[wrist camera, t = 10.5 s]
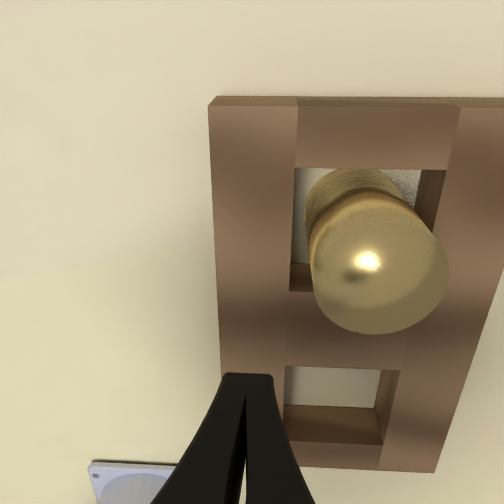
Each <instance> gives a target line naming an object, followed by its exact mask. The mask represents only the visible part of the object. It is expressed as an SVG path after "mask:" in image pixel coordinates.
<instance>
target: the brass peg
mask: <svg viewBox="0 0 504 504" xmlns="http://www.w3.org/2000/svg"><path fill="white" fill-rule="evenodd" d="M304 223H305V230H306V237H307V245H308V252H309V259H310V266H311V274H312V281H313V288H314V294H315V298H316V301H317V303H318V305H319V307H320V309H321V310H322V312H323V313H324V314H325V315H326V316H327V317H328V318H329V319H330V320H331V321H332V322H334V323H335V324H337V325H338V326H340V327H342V328H344V329H347V330H349V331H352V332H356V333H361V334H372V335H377V334H387V333H393V332H396V331H400V330H403V329H405V328H408V327H410V326H412V325H414V324H416V323H417V322H419V321H420V320H422V319H423V318H425V317H426V316H427V315H428V314H430V313H431V312H432V311H433V310H434V309H435V307H436V306H437V305H438V304H439V302H440V301H441V299H442V297H443V296H444V294H445V291H446V289H447V286H448V282H449V273H450V271H449V263H448V259H447V256H446V254H445V252H444V250H443V248H442V247H441V245H440V244H439V242H438V241H437V240H436V238H435V237H434V236H433V235H432V233H431V232H430V231H429V229H428V228H427V227H426V225H425V224H424V223H423V221H422V220H421V219H420V217H419V216H418V215H417V213H416V212H415V211H414V210H413V208H412V207H411V206H410V204H409V203H408V202H407V200H406V199H405V198H404V196H403V195H402V194H401V192H400V191H399V190H398V188H397V187H396V186H395V185H394V183H393V182H392V181H391V180H390V179H389V178H388V177H387V176H386V175H385V174H383V173H382V172H380V171H378V170H376V169H347V168H339V169H337V170H334V171H332V172H330V173H328V174H327V175H325V176H324V177H323V178H321V179H320V180H319V181H318V182H317V183H316V184H315V185H314V187H313V188H312V189H311V191H310V192H309V195H308V197H307V199H306V202H305V206H304Z"/></svg>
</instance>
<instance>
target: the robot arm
mask: <svg viewBox="0 0 504 504" xmlns="http://www.w3.org/2000/svg"><path fill="white" fill-rule="evenodd" d="M245 460H246V504H315V502H314V500H313V498H312V496H311V493H310V491H309V489H308V487H307V485H306V482H305V480H304V478H303V476H302V473H301V471H300V468H299V466H298V464H297V461H296V459H295V456H294V453H293V451H292V448H291V446H290V443H289V440H288V437H287V434H286V431H285V428H284V425H283V422H282V419H281V415H280V411H279V408H278V404H277V399H276V395H275V389H274V381H273V377H272V376H271V375H270V374H258V373H236V372H226V373H225V374H224V375H223V377H222V380H221V383H220V386H219V388H218V391H217V393H216V395H215V398H214V400H213V402H212V404H211V406H210V408H209V410H208V412H207V414H206V416H205V418H204V420H203V422H202V424H201V425H200V427H199V429H198V431H197V433H196V435H195V436H194V438H193V440H192V442H191V443H190V445H189V446H188V448H187V450H186V451H185V453H184V455H183V456H182V458H181V460H180V461H179V463H178V464H177V466H164V465H145V464H125V463H106V462H92V463H91V464H90V465H89V467H88V472H89V476H90V479H91V482H92V485H93V489H94V492H95V495H96V498H97V502H98V503H97V504H239V499H240V493H241V486H242V480H243V473H244V467H245Z"/></svg>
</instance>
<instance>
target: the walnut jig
mask: <svg viewBox="0 0 504 504" xmlns="http://www.w3.org/2000/svg"><path fill="white" fill-rule="evenodd" d="M208 122H209V142H210V162H211V181H212V201H213V221H214V240H215V260H216V280H217V299H218V319H219V339H220V358H221V378H222V377H223V375H224V374H225V373H226V372H236V373H258V374H270V375H271V376H272V377H273V381H274V389H275V395H276V399H277V404H278V408H279V411H280V415H281V419H282V422H283V425H284V428H285V431H286V434H287V437H288V440H289V443H290V446H291V448H292V451H293V453H294V456H295V459H296V461H297V464H298V466H300V467H320V468H339V469H359V470H379V471H398V472H418V473H434V472H435V469H436V466H437V463H438V460H439V457H440V454H441V451H442V448H443V445H444V442H445V439H446V436H447V433H448V430H449V427H450V424H451V422H452V419H453V416H454V413H455V410H456V407H457V404H458V401H459V398H460V395H461V392H462V389H463V386H464V383H465V380H466V377H467V374H468V371H469V368H470V365H471V362H472V359H473V356H474V354H475V351H476V348H477V345H478V342H479V339H480V336H481V333H482V330H483V327H484V324H485V321H486V318H487V315H488V312H489V309H490V306H491V303H492V300H493V297H494V294H495V291H496V289H497V286H498V283H499V280H500V277H501V274H502V271H503V268H504V98H457V97H292V96H216V98H215V99H214V100H213V101H212V102H211V103H210V104H209V105H208ZM295 168H347V169H414V170H422V172H421V177H420V182H419V187H418V192H417V197H416V202H415V207H414V211H415V212H416V213H417V215H418V216H419V217H420V219H421V220H422V221H423V223H424V224H425V225H426V227H427V228H428V229H429V231H430V232H431V233H432V235H433V236H434V237H435V238H436V240H437V241H438V242H439V244H440V245H441V247H442V248H443V250H444V252H445V254H446V256H447V259H448V263H449V271H450V273H449V282H448V286H447V289H446V291H445V294H444V296H443V297H442V299H441V301H440V302H439V304H438V305H437V306H436V307H435V309H434V310H433V311H432V312H431V313H430V314H428V315H427V316H426V317H425V318H423V319H422V320H420V321H419V322H417V323H416V324H414V325H412V326H410V327H408V328H405V329H403V330H400V331H396V332H393V333H387V334H377V335H372V334H361V333H356V332H352V331H349V330H347V329H344V328H342V327H340V326H338V325H337V324H335V323H334V322H332V321H331V320H330V319H329V318H328V317H327V316H326V315H325V314H324V313H323V312H322V310H321V309H320V307H319V305H318V303H317V301H316V298H315V294H314V288H313V281H312V274H311V266H310V264H296V263H290V260H291V239H292V219H293V199H294V179H295ZM285 366H303V367H329V368H354V369H380V370H382V371H381V376H380V381H379V386H378V391H377V396H376V400H375V405H374V409H368V408H345V407H322V406H299V405H283V401H284V381H285ZM245 464H246V460H245Z"/></svg>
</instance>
